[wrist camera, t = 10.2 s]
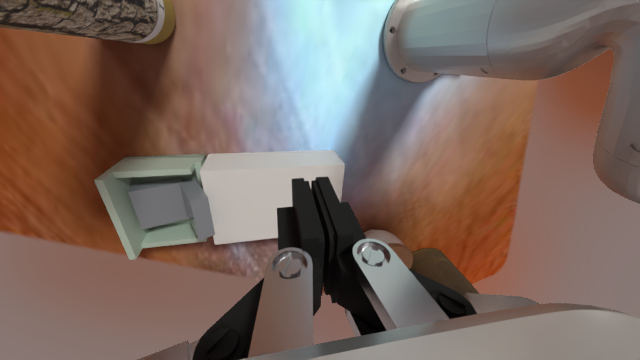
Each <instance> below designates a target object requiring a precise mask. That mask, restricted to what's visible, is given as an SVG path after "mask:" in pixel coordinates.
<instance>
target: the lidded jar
mask: <svg viewBox="0 0 640 360" xmlns="http://www.w3.org/2000/svg"><path fill="white" fill-rule="evenodd" d="M364 234H365V236H366V238H367V239H376V240H379V241H382V242H384V243H385V244H387V245H388V246H389V247H390V248H391V249H392V250H393V251H394V252H395V253H396V255H397V256H398V257H399V258H400V259H401V261H402V262H403V263H404V264H405V265H406V267H407V268H409V269H410V268H411V266H412V263H413V255H412V253H411V251H410V250H409V249H408V248H407V247H406V246H405V245H404V244H403V242H402V241H401V240H400V239H399V238H398V237H396V236H395V235H394V234H392V233H390V232H388V231H385V230H377V229H372V230H368V231H366V232H364Z"/></svg>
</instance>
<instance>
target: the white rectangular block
mask: <svg viewBox="0 0 640 360" xmlns="http://www.w3.org/2000/svg"><path fill="white" fill-rule="evenodd" d="M344 169H345V164H344V163H343V161H342V160H341V159H340V158H339V156H338V155H337V154H336V153H335V151H334V150H316V151H285V152H255V153H225V154H209V155H208V156H207V158H206V160H205V162H204V164H203V166H202V168H201V170H200V176H201V181H202V185H203V190H204V192H205V194H206V195H207V197H208V201H209V206H210V211H211V216H212V221H213V226H214V231H215V235H213V238H214V243H215V245H218V244H227V243H235V242H244V241H253V240H262V239H270V238H278V225H277V208H282V207H292V179H295V178H304V181H309V184H310V188H311V182H312V180H315V179H316V177H328V178H329V180H330V182H331V184H332V186H333V188H334V191H335V193H336V195H337V197H338V199H339V201H340V203H341V197H342V187H343V178H344Z"/></svg>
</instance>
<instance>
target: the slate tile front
mask: <svg viewBox="0 0 640 360" xmlns="http://www.w3.org/2000/svg"><path fill="white" fill-rule="evenodd" d="M179 183H180V187H181V191H182V195H183V198H184V202H185V206H186V210H187V214H188V218H189V220H190V222H191V224H192V226H193V228H194V230H195V232H196V234H197V236H198V238H199V241H200V240H202V239H205V238H208V237H210V236H213V235H215V231H214V226H213V221H212V216H211V211H210V206H209V201H208V197H207V195H206V194H205V192H204V191H203V189H202V188H201V186H200V185H199V183H198V182H197V181H196V179H192V180H187V181H183V182H179Z"/></svg>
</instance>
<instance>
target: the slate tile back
mask: <svg viewBox="0 0 640 360" xmlns="http://www.w3.org/2000/svg"><path fill="white" fill-rule="evenodd" d="M179 182H183V181H182V177H177V178H171V179H165V180H159V181H153V182H146V183H140V184H134V185H130V186H129V190H128V194H129V196H130V199H131V202H132V204H133V207H134V210H135V212H136V215H137V217H138V220H139V223H140V225H141V228H142V230H143V229H147V228H151V227H156V226H160V225H164V224H168V223H172V222H176V221H181V220H185V219H189V218H188V214H187V210H186V206H185V202H184V198H183V195H182V191H181V187H180V183H179Z"/></svg>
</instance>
